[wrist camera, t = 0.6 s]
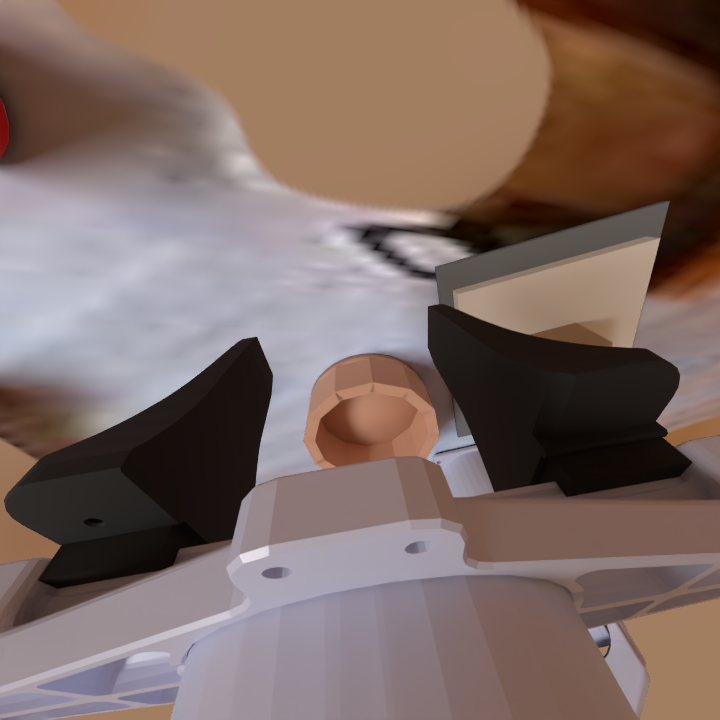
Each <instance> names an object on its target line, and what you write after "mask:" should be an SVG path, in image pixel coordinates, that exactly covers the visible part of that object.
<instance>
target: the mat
mask: <svg viewBox="0 0 720 720" xmlns="http://www.w3.org/2000/svg"><path fill="white" fill-rule="evenodd" d="M669 202H670V201H662V202H659V203H655V204H652V205H648V206H645V207H641V208H638V209H634V210H631V211H628V212H624V213H621V214H617V215H614V216H610V217H607V218H603V219H600V220H596V221H593V222H589V223H586V224H582V225H579V226H575V227H572V228H568V229H565V230H562V231H558V232H555V233H551V234H548V235H544V236H541V237H537V238H534V239H530V240H527V241H523V242H520V243H516V244H513V245H509V246H506V247H503V248H499V249H496V250H492V251H489V252H485V253H482V254H478V255H475V256H471V257H468V258H464V259H461V260H457V261H454V262H450V263H447V264H444V265H440V266H437V267H435V272H436V280H437V287H438V295H439V302H440V304H445V305H448V306H451V307H453V308H454V298H453V290H456V289H460V288H463V287H467V286H470V285H474V284H477V283H481V282H485V281H488V280H492V279H495V278H499V277H503V276H506V275H510V274H513V273H517V272H521V271H524V270H528V269H531V268H535V267H539V266H542V265H546V264H549V263H553V262H556V261H560V260H564V259H567V258H571V257H574V256H578V255H582V254H585V253H589V252H592V251H596V250H600V249H603V248H607V247H610V246H614V245H617V244H621V243H625V242H628V241H632V240H635V239H639V238H643V237H646V236H648V237H655V238H660V236H661V232H662V229H663V225H664V221H665V217H666V213H667V209H668V205H669ZM452 400H453V407H454V415H455V422H456V430H457V435H458V437H463V436H467V435H471V432H470V429H469V427H468V425H467V423H466V420H465V418H464V416H463V413H462V411H461V410H460V408H459V406H458V404H457V402H456V400H455V399H454V397H453V395H452Z"/></svg>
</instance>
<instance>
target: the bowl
mask: <svg viewBox="0 0 720 720" xmlns="http://www.w3.org/2000/svg"><path fill="white" fill-rule="evenodd" d="M438 437H439V430H438V424H437V419H436V413H435V409H434V407H433V404H432V402H431V399H430V397H429V395H428V392H427V390H426V388H425V385H424V383H422V382H421V380H420V378H419V376H418V375H417V374H416V372H415V371H414V370H413V369H412V368H411V367H409V366H408V365H407V364H405V363H404V362H402V361H400V360H398V359H396V358H393V357H390V356H386V355H381V354H360V355H355V356H351V357H348V358H345V359H342V360H340V361H338V362H336V363H335V364H333V365H331V366H330V367H329V368H328V369H326V370H325V371H324V372H323V373H322V374H321V375H320V377H319V378H318V379H317V381H316V383H315V385H314V387H313V389H312V393H311V398H310V405H309V410H308V416H307V422H306V428H305V434H304V440H303V442H304V443H305V445H306V447H307V449H308V451H309V453H310V455H311V456H312V458H313V460H314V462H315V464H316V465H318V466H320V467H322V468H323V469H328V468H333V467H339V466H345V465H350V464H356V463H361V462H367V461H373V460H378V459H384V458H389V457H403V456H418V457H421V458H424V459H427V457H428V456H429V454H430V452H431V450H432V448H433V446H434V445H435V443H436V441H437V439H438Z"/></svg>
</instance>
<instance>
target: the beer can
mask: <svg viewBox="0 0 720 720" xmlns="http://www.w3.org/2000/svg"><path fill="white" fill-rule="evenodd" d="M8 143H9V120H8V117H7V113H6V110H5V106H4V104H3V102H2V100H1V98H0V158H1V157H2V155H3V153H4V151H5V149H6V147H7V145H8Z"/></svg>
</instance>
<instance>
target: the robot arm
mask: <svg viewBox="0 0 720 720" xmlns="http://www.w3.org/2000/svg"><path fill="white" fill-rule="evenodd" d="M428 349H429V351H430V354H431V357H432V359H433V362H434V364H435V366H436V368H437V370H438V371H439V373H440V375H441V377H442V378H443V380H444V382H445V383H446V385H447V387H448V389H449V390H450V392H451V394H452V395H453V397H454V399H455V400H456V402H457V404H458V406H459V408H460V410H461V411H462V413H463V416H464V418H465V420H466V423H467V425H468V427H469V429H470V432H471V434H472V436H473V439H474V441H475V444H476V445H475V446H470V447H466V448H461V449H457V450H453V451H448V452H444V453H439V454H436V455H434V456H433V460H434V463H433V462H431V461H428V460H426V459H424V458H421V457H418V456H403V457H389V458H384V459H378V460H373V461H367V462H361V463H356V464H350V465H345V466H339V467H333V468H328V469H322V470H317V471H311V472H306V473H300V474H294V475H289V476H283V477H279V478H276V479H273V480H271V481H268V482H265V483H262V484H259V485H258V486H256V487H255V484H256V472H257V463H258V455H259V447H260V442H261V437H262V433H263V429H264V425H265V420H266V416H267V412H268V408H269V403H270V399H271V394H272V381H273V374H272V372H271V369H270V367H269V364H268V362H267V360H266V357H265V355H264V353H263V350H262V348H261V345H260V343H259V341H258V338H257V337H253V338H247V339H242V340H241V341H239V342H238V343H236V344H235V345H234V346H232V347H231V348H230V349H229V350H228V351H226V352H225V353H224V354H223V355H222V356H221V357H219V358H218V359H217V360H216V361H215V362H213V363H212V364H211V365H210V366H209V367H207V368H206V369H205V370H204V371H202V372H201V373H200V374H199V375H197V376H196V377H195V378H193V379H192V380H191V381H190V382H188V383H187V384H185V385H184V386H183V387H181V388H180V389H178V390H177V391H175V392H174V393H172V394H171V395H169V396H168V397H166V398H165V399H163V400H161V401H160V402H158V403H156V404H154V405H153V406H151V407H149V408H147V409H146V410H144V411H142V412H140V413H139V414H137V415H135V416H133V417H131V418H129V419H127V420H125V421H123V422H121V423H119V424H117V425H115V426H113V427H111V428H109V429H107V430H105V431H103V432H101V433H98V434H96V435H94V436H92V437H89V438H87V439H85V440H82V441H80V442H77V443H75V444H73V445H70V446H68V447H65V448H63V449H61V450H58V451H56V452H53V453H51V454H48V455H46V456H44V457H42V458H41V459H40V460H39V461H38V462H37V463H36V464H35V465H34V466H33V467H32V468H31V469H30V470H29V471H28V472H27V473H26V474H25V475H24V476H23V478H22V479H21V480H20V481H19V482H18V483H17V484H16V485H15V486H14V487H13V488H12V489H11V490H10V491H9V492H8V494H7V496H6V497H5V499H4V503H5V508H6V511H7V512H8V513H9V514H10V516H11V517H12V518H13V519H15V520H16V521H18V522H19V523H21V524H22V525H24V526H26V527H27V528H29V529H31V530H33V531H35V532H37V533H39V534H40V535H42V536H44V537H46V538H48V539H50V540H52V541H54V542H55V543H57V544H59V545H61V547H60V549H59V550H58V552H57V553H56V554H55V556H54V557H53V559H49V558H32V559H27V560H21V561H16V562H10V563H4V564H0V720H53V719H60V718H67V717H73V716H80V715H88V714H95V713H102V712H110V711H118V710H126V709H134V708H142V707H149V706H157V705H165V704H173V703H175V705H174V709H173V712H172V715H171V720H639V719H640V716H641V712H642V709H643V705H644V702H645V698H646V695H647V691H648V688H649V682H650V678H649V675H648V672H647V670H646V668H645V667H646V662H645V659H644V657H643V656H642V654H641V652H640V651H639V649H638V647H637V646H636V644H635V643H634V641H633V640H632V638H631V636H630V635H629V633H628V632H627V629H626V626H625V624H624V623H623V621H625V620H629V619H633V618H637V617H642V616H646V615H650V614H654V613H658V612H662V611H666V610H671V609H675V608H680V607H684V606H688V605H693V604H697V603H701V602H705V601H710V600H714V599H719V598H720V435H716V436H711V437H705V438H700V439H694V440H690V441H686V442H683V443H681V444H680V445H677V446H676V447H673V446H672V445H671V444H670V443H668V442H667V441H666V440H665V439H664V438H662V437H665V436H666V435H667V434H668V432H667V430H666V429H665V428H664V427H663V426H661V425H660V424H659V423H657V422H656V420H657V418H658V417H659V416H660V414H661V413H662V411H663V410H664V409H665V407H666V406H667V404H668V403H669V402H670V400H671V399H672V397H673V396H674V394H675V392H676V390H677V389H678V386H679V380H680V374H679V371H678V368H677V367H675V366H674V365H673V364H671V363H670V362H668V361H666V360H665V359H663V358H661V357H660V356H658V355H656V354H654V353H653V352H651V351H649V350H647V349H643V348H626V347H609V346H596V345H587V344H578V343H570V342H564V341H557V340H552V339H547V338H541V337H537V336H532V335H528V334H524V333H520V332H517V331H513V330H509V329H506V328H503V327H500V326H497V325H495V324H492V323H489V322H486V321H484V320H481V319H479V318H476V317H474V316H472V315H469V314H467V313H465V312H462V311H460V310H458V309H455V308H453V307H451V306H448V305H445V304H439V305H433V306H428ZM606 629H607V630H606ZM608 645H609V648H608V651H607V653H606V655H605V656H603V655H602V654H601V652H600V650H599V649H598V648H600V647H604V646H608Z"/></svg>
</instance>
